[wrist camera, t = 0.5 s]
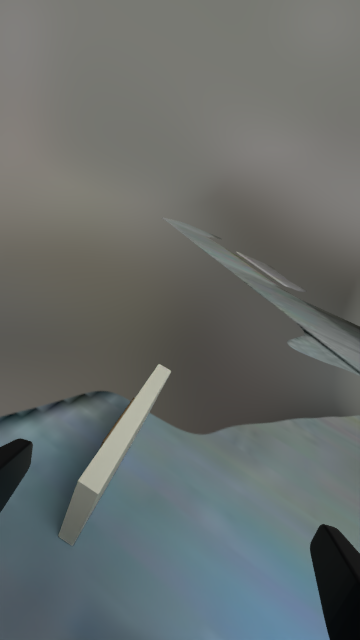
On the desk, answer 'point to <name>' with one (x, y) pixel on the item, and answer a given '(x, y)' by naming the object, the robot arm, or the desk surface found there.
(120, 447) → the plaque
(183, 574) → the desk surface
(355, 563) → the robot arm
